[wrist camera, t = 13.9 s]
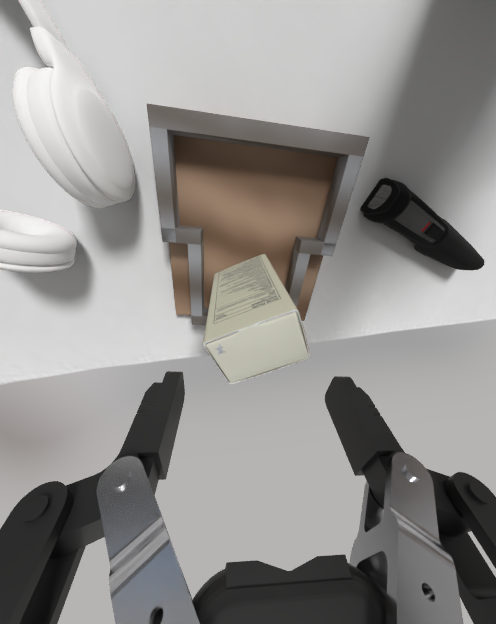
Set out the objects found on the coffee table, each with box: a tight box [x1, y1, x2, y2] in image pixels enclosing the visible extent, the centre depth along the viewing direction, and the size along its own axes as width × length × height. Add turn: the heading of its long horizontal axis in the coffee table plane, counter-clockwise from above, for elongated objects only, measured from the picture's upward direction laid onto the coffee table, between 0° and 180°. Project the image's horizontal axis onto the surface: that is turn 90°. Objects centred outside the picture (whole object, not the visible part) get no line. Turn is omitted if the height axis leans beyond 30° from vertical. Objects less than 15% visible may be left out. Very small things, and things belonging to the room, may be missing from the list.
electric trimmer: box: [361, 178, 484, 270], centre depth 22 cm, size 4×16×3 cm, turn 63°
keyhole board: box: [147, 104, 369, 325], centre depth 21 cm, size 18×16×3 cm
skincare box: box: [203, 254, 310, 384], centre depth 18 cm, size 6×4×12 cm
